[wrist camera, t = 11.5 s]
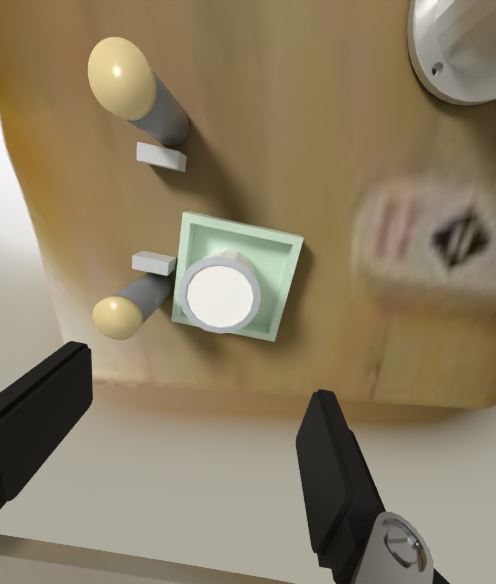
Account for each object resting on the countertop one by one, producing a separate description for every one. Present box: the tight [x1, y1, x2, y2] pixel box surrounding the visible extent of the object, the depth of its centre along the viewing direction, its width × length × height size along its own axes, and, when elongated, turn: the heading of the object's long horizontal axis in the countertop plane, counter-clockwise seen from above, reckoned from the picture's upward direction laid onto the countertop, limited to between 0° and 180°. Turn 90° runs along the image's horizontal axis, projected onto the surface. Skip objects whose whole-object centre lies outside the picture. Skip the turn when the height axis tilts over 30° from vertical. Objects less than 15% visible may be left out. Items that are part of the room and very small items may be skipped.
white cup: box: [178, 249, 261, 334], centre depth 23 cm, size 7×7×7 cm
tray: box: [171, 211, 304, 342], centre depth 26 cm, size 12×12×2 cm
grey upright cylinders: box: [88, 37, 189, 340], centre depth 21 cm, size 4×20×9 cm, turn 168°
